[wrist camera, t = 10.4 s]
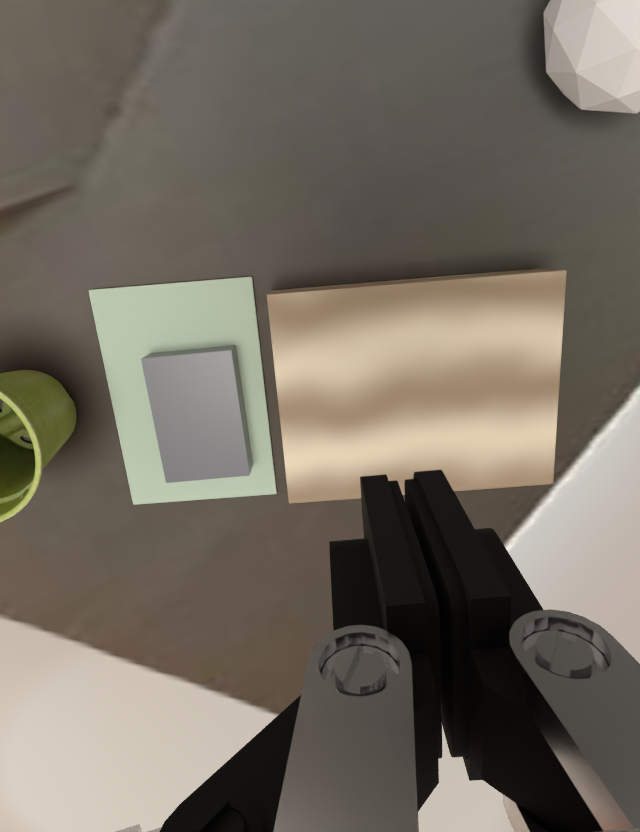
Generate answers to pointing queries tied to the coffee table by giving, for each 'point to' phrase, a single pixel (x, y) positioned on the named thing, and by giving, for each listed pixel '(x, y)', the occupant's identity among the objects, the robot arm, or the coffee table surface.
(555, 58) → the perfume bottle
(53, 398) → the plant pot
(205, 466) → the grey rectangular block
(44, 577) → the coffee table surface
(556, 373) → the light wood flat block
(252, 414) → the mat
